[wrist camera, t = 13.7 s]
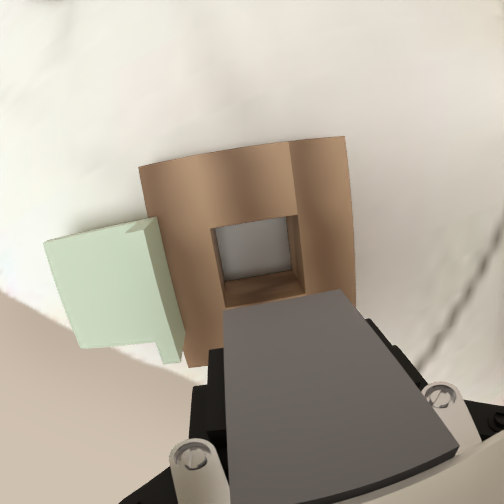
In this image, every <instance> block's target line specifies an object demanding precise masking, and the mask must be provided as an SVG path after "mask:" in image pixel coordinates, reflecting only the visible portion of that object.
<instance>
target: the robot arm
mask: <svg viewBox="0 0 504 504" xmlns="http://www.w3.org/2000/svg"><path fill="white" fill-rule="evenodd" d="M365 320H366V322H367V323H368V324H369V325H370V327H371V328H372V329H373V330H374V332H375V333H376V334H377V335H378V337H379V338H380V339H381V340H382V342H383V343H384V344H385V346H386V347H387V348H388V349H389V351H390V352H391V353H392V354H393V356H394V357H395V358H396V360H397V361H398V362H399V364H400V365H401V366H402V367H403V369H404V370H405V371H406V373H407V374H408V375H409V377H410V378H411V379H412V381H413V382H414V383H415V385H416V386H417V387H418V389H419V390H420V391H421V393H422V394H423V395H424V397H425V398H426V399H427V401H428V402H429V403H430V405H431V406H432V407H433V409H434V410H435V412H436V413H437V414H438V416H439V417H440V418H441V420H442V421H443V423H444V424H445V425H446V427H447V428H448V429H449V431H450V432H451V434H452V435H453V436H454V438H455V439H456V441H457V442H458V444H459V445H460V446H459V448H458V450H457V452H456V454H455V456H454V457H453V458H451V459H449V460H447V461H445V462H443V463H441V464H439V465H437V466H435V467H433V468H431V469H429V470H426V471H424V472H422V473H420V474H417V475H415V476H413V477H410V478H408V479H405V480H403V481H400V482H398V483H395V484H392V485H390V486H387V487H384V488H382V489H379V490H376V491H373V492H370V493H367V494H364V495H361V496H357V497H354V498H351V499H347V500H344V501H340V502H337V503H333V504H504V406H498V405H492V404H485V403H479V402H474V401H468V400H463V398H462V396H461V394H460V392H459V390H458V389H457V388H456V387H455V386H454V385H452V384H450V383H447V382H434V383H431V384H428V383H427V382H426V381H425V379H424V378H423V377H422V376H421V374H420V373H419V372H418V371H417V369H416V368H415V367H414V366H413V364H412V363H411V362H410V361H409V360H408V358H407V357H406V356H405V355H404V353H403V352H402V351H401V350H400V349H399V348H398V347H397V346H396V345H393V346H392V345H391V343H390V342H389V341H388V340H387V338H386V337H385V336H384V335H383V334H382V332H381V331H380V330H379V329H378V327H377V326H376V325H375V324H374V323H373V321H372V320H371V319H365ZM169 462H170V466H169V467H168V468H167V469H165V470H164V471H163V472H162V473H160V474H159V475H157V476H156V477H155V478H153V479H152V480H150V481H149V482H148V483H146V484H145V485H143V486H142V487H141V488H139V489H138V490H136V491H135V492H133V493H132V494H130V495H129V496H127V497H126V498H124V499H123V500H122V501H121V502H120V503H119V504H231V503H230V487H229V470H228V452H227V431H226V407H225V379H224V348H217V349H210V350H209V355H208V382H207V385H200V386H194V387H193V391H192V402H191V415H190V428H189V439H187V440H185V441H182V442H180V443H179V444H177V445H176V446H175V447H174V448H173V449H172V450H171V453H170V456H169Z"/></svg>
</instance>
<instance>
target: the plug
mask: <svg viewBox="0 0 504 504" xmlns="http://www.w3.org/2000/svg"><path fill="white" fill-rule="evenodd" d="M223 344H224V379H225V407H226V431H227V452H228V470H229V487H230V503H231V504H333V503H337V502H340V501H344V500H347V499H351V498H354V497H357V496H361V495H364V494H367V493H370V492H373V491H376V490H379V489H382V488H384V487H387V486H390V485H392V484H395V483H398V482H400V481H403V480H405V479H408V478H410V477H413V476H415V475H417V474H420V473H422V472H424V471H426V470H429V469H431V468H433V467H435V466H437V465H439V464H441V463H443V462H445V461H447V460H449V459H451V458H453V457H454V456H455V454H456V452H457V450H458V448H459V446H460V445H459V444H458V442H457V441H456V439H455V438H454V436H453V435H452V434H451V432H450V431H449V429H448V428H447V427H446V425H445V424H444V423H443V421H442V420H441V418H440V417H439V416H438V414H437V413H436V412H435V410H434V409H433V407H432V406H431V405H430V403H429V402H428V401H427V399H426V398H425V397H424V395H423V394H422V393H421V391H420V390H419V389H418V387H417V386H416V385H415V383H414V382H413V381H412V379H411V378H410V377H409V375H408V374H407V373H406V371H405V370H404V369H403V367H402V366H401V365H400V364H399V362H398V361H397V360H396V358H395V357H394V356H393V354H392V353H391V352H390V351H389V349H388V348H387V347H386V346H385V344H384V343H383V342H382V340H381V339H380V338H379V337H378V335H377V334H376V333H375V332H374V330H373V329H372V328H371V327H370V325H369V324H368V323H367V322H366V320H365V319H364V318H363V317H362V315H361V314H360V313H359V312H358V310H357V309H356V308H355V307H354V305H353V304H352V303H351V302H350V300H349V299H348V298H347V297H346V296H345V294H344V293H343V292H342V291H341V289H337V290H332V291H327V292H322V293H317V294H312V295H307V296H302V297H296V298H291V299H286V300H280V301H275V302H269V303H263V304H258V305H252V306H246V307H240V308H234V309H228V310H223Z"/></svg>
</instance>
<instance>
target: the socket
mask: <svg viewBox="0 0 504 504" xmlns="http://www.w3.org/2000/svg"><path fill="white" fill-rule="evenodd" d="M138 168H139V174H140V179H141V184H142V190H143V195H144V200H145V205H146V209H147V214H148V218H152V217H157V220H158V225H159V229H160V234H161V238H162V243H163V247H164V251H165V256H166V260H167V264H168V268H169V272H170V276H171V280H172V284H173V288H174V292H175V296H176V300H177V303H178V307H179V311H180V315H181V318H182V322H183V325H184V329H185V332H186V333H185V339H184V345H183V352H184V355H185V358H186V361H187V364H188V367H189V368H192V367H201V366H208V355H209V350H210V349H217V348H224V344H223V310H228V309H234V308H240V307H246V306H252V305H258V304H263V303H269V302H275V301H280V300H286V299H291V298H296V297H302V296H307V295H312V294H317V293H322V292H327V291H332V290H337V289H341V291H342V292H343V293H344V294H345V296H346V297H347V298H348V299H349V300H350V302H351V303H352V304H353V305H354V307H355V308H356V284H355V252H354V232H353V216H352V202H351V190H350V179H349V169H348V160H347V151H346V143H345V136H339V137H326V138H315V139H305V140H295V141H286V142H278V143H270V144H262V145H255V146H248V147H241V148H235V149H228V150H222V151H216V152H210V153H205V154H199V155H194V156H188V157H183V158H178V159H173V160H168V161H164V162H159V163H154V164H150V165H145V166H141V167H138ZM285 216H286V222H287V230H288V238H289V247H290V256H291V265H292V270H290V271H284V272H279V273H273V274H267V275H261V276H256V277H250V278H244V279H238V280H232V281H226V282H225V281H224V276H223V270H222V265H221V260H220V255H219V249H218V244H217V238H216V233H215V228H217V227H223V226H229V225H235V224H241V223H247V222H253V221H259V220H266V219H272V218H278V217H285Z"/></svg>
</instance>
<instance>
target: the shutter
mask: <svg viewBox="0 0 504 504" xmlns="http://www.w3.org/2000/svg"><path fill="white" fill-rule="evenodd" d="M43 245H44V248H45V252H46V255H47V259H48V262H49V265H50V268H51V272H52V275H53V278H54V281H55V284H56V287H57V290H58V292H59V295H60V298H61V301H62V304H63V306H64V309H65V312H66V314H67V317H68V319H69V322H70V324H71V327H72V329H73V332H74V334H75V336H76V338H77V341H78V343H79V345H80V348H81V349H86V348H99V347H111V346H122V345H132V344H141V343H150V342H156V345H157V348H158V351H159V353H160V356H161V359H162V362H163V364H171V363H180V362H181V357H182V351H183V345H184V339H185V333H186V332H185V329H184V325H183V322H182V318H181V315H180V311H179V307H178V303H177V300H176V296H175V292H174V288H173V284H172V280H171V276H170V272H169V268H168V264H167V260H166V256H165V251H164V247H163V243H162V238H161V234H160V229H159V225H158V220H157V217H152V218H146V219H141V220H137V221H132V222H127V223H122V224H117V225H113V226H108V227H103V228H99V229H94V230H90V231H85V232H81V233H77V234H72V235H68V236H64V237H60V238H55V239H51V240H48V241H46V242H44V243H43Z"/></svg>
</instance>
